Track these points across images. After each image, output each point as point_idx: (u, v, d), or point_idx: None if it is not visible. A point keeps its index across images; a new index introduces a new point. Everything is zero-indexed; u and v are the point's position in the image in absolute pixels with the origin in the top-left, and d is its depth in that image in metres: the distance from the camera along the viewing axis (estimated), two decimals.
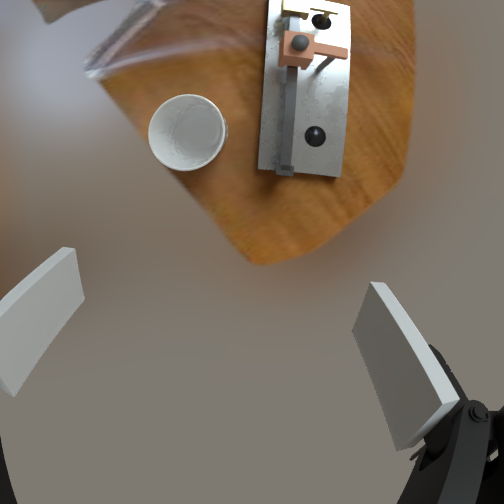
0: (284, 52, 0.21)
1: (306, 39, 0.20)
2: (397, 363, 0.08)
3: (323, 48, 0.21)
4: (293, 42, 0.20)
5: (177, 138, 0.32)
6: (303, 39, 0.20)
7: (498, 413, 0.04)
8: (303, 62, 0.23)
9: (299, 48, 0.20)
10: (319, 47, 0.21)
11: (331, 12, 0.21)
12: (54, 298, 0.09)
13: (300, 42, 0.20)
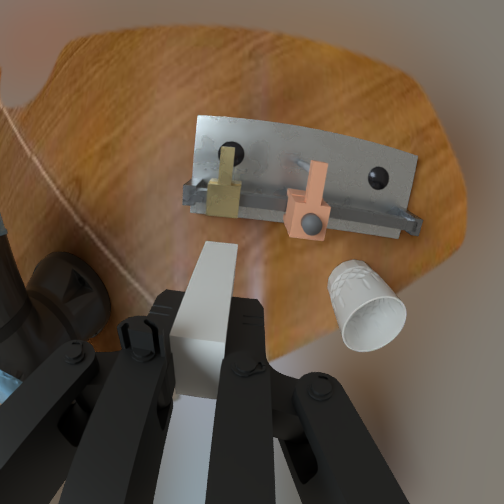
0: (320, 239, 0.23)
1: (310, 219, 0.21)
2: None
3: (315, 193, 0.21)
4: (313, 234, 0.22)
5: None
6: (310, 223, 0.21)
7: (293, 393, 0.06)
8: None
9: None
10: (314, 198, 0.21)
11: (234, 157, 0.24)
12: None
13: (314, 226, 0.21)
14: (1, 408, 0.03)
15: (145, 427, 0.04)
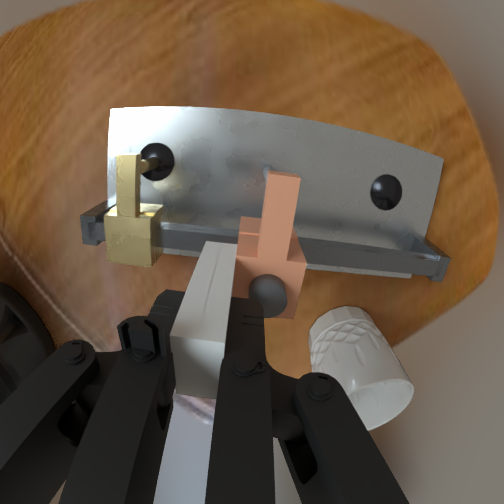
0: (286, 316, 0.13)
1: (262, 292, 0.11)
2: None
3: (276, 239, 0.11)
4: (270, 315, 0.12)
5: None
6: (262, 298, 0.11)
7: (293, 393, 0.06)
8: None
9: None
10: (274, 248, 0.11)
11: (137, 169, 0.13)
12: None
13: (271, 304, 0.11)
14: (1, 408, 0.03)
15: (145, 427, 0.04)
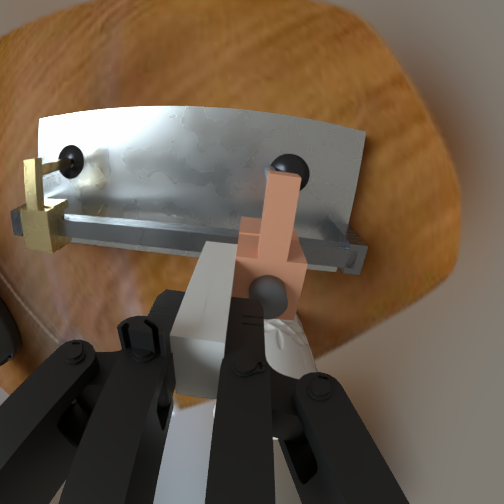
0: (287, 318, 0.13)
1: (262, 293, 0.11)
2: None
3: (276, 239, 0.11)
4: (271, 317, 0.11)
5: None
6: (263, 299, 0.11)
7: (293, 393, 0.06)
8: None
9: None
10: (274, 249, 0.11)
11: (37, 171, 0.13)
12: None
13: (271, 305, 0.11)
14: (1, 408, 0.03)
15: (145, 427, 0.04)
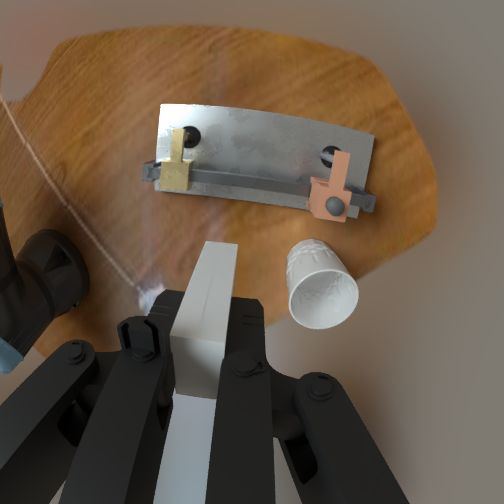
0: (341, 221, 0.25)
1: (334, 201, 0.23)
2: None
3: (339, 179, 0.23)
4: (336, 215, 0.24)
5: (313, 287, 0.37)
6: (334, 205, 0.23)
7: (293, 393, 0.06)
8: None
9: None
10: (338, 183, 0.24)
11: (183, 137, 0.26)
12: None
13: (337, 208, 0.24)
14: (1, 408, 0.03)
15: (145, 427, 0.04)
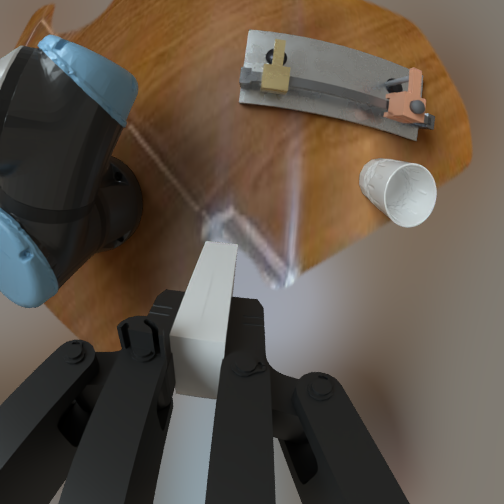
0: (421, 121, 0.24)
1: (417, 101, 0.22)
2: None
3: (416, 88, 0.22)
4: (420, 113, 0.23)
5: (385, 203, 0.36)
6: (418, 104, 0.22)
7: (293, 393, 0.06)
8: None
9: None
10: (416, 91, 0.23)
11: (284, 47, 0.24)
12: None
13: (420, 107, 0.23)
14: (1, 408, 0.03)
15: (145, 427, 0.04)
